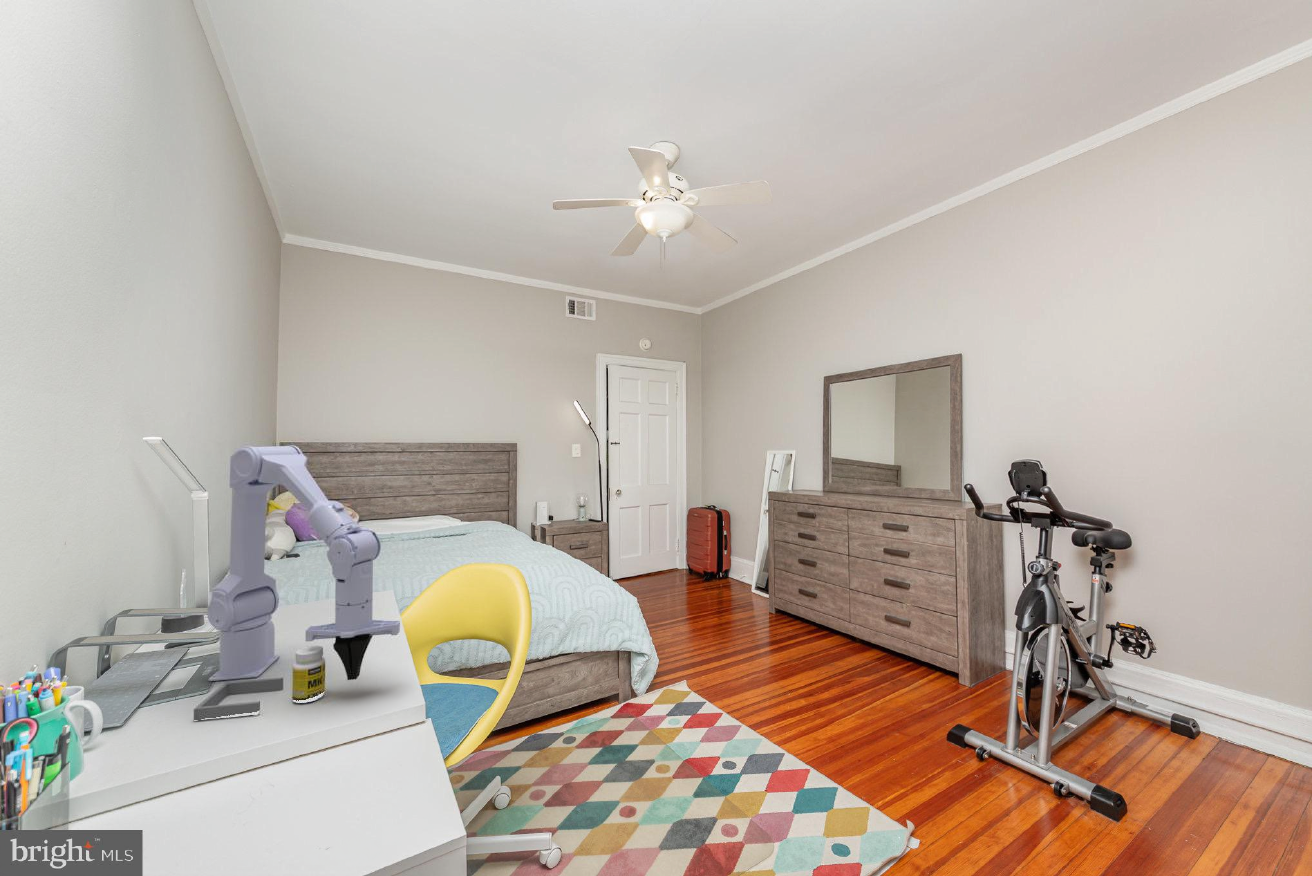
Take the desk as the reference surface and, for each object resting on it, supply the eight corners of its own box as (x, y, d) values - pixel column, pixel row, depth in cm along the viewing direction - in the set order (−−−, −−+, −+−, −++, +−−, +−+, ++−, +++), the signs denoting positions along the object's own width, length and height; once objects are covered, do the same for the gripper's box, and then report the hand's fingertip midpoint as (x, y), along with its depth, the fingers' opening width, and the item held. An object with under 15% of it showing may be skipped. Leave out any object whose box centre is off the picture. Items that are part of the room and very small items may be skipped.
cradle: (225, 693, 93) (225, 682, 93) (283, 688, 95) (283, 677, 95) (193, 721, 84) (193, 709, 84) (258, 715, 86) (258, 703, 86)
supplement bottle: (308, 706, 89) (309, 656, 89) (285, 703, 90) (285, 653, 90) (331, 692, 94) (331, 645, 94) (308, 689, 95) (309, 643, 95)
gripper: (298, 610, 88) (297, 692, 88) (393, 605, 91) (392, 683, 92) (314, 597, 95) (314, 673, 95) (402, 592, 98) (402, 665, 98)
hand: (353, 677), depth 94 cm, fingers closed
